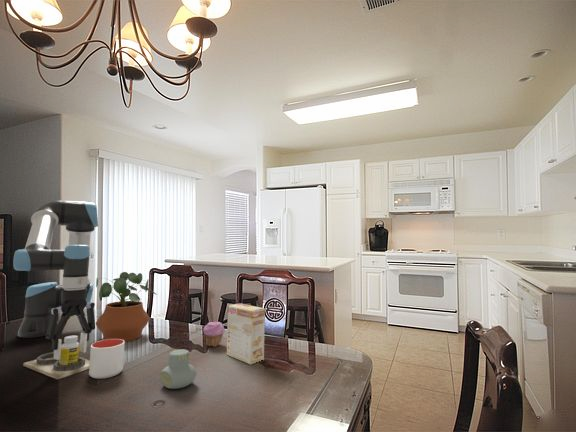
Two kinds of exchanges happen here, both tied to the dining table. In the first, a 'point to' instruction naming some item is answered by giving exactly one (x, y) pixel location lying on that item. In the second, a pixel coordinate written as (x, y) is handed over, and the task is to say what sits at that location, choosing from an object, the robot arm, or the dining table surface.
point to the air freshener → (178, 370)
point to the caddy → (56, 366)
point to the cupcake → (213, 333)
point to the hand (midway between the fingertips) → (70, 355)
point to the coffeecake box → (246, 332)
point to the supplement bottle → (69, 351)
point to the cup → (106, 358)
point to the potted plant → (123, 309)
